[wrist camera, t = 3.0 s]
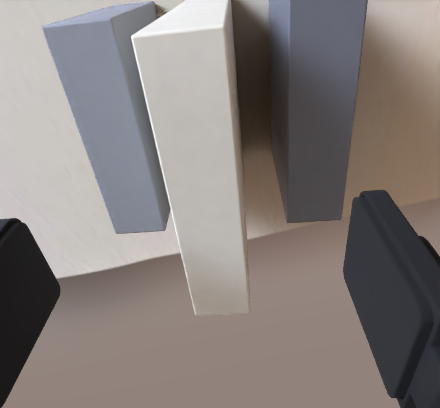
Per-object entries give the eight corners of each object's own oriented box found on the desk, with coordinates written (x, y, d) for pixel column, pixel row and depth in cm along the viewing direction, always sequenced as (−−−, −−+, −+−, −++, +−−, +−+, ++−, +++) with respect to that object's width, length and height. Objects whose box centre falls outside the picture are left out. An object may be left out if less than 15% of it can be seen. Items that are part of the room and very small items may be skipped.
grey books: (319, -20, 20) (369, -14, 13) (311, 149, 26) (341, 220, 19) (107, 6, 21) (40, 26, 14) (147, 163, 27) (115, 234, 20)
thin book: (230, -9, 21) (226, 24, 8) (242, 155, 27) (250, 314, 14) (191, -4, 21) (129, 34, 8) (212, 157, 27) (194, 316, 15)
